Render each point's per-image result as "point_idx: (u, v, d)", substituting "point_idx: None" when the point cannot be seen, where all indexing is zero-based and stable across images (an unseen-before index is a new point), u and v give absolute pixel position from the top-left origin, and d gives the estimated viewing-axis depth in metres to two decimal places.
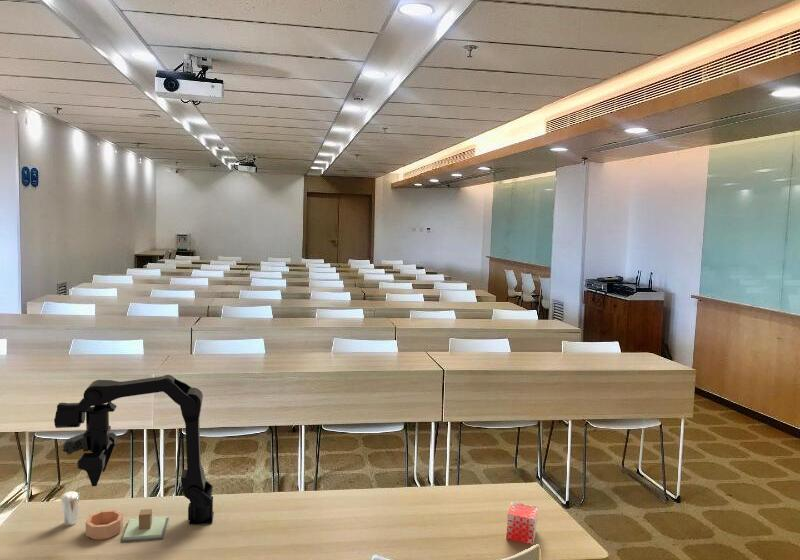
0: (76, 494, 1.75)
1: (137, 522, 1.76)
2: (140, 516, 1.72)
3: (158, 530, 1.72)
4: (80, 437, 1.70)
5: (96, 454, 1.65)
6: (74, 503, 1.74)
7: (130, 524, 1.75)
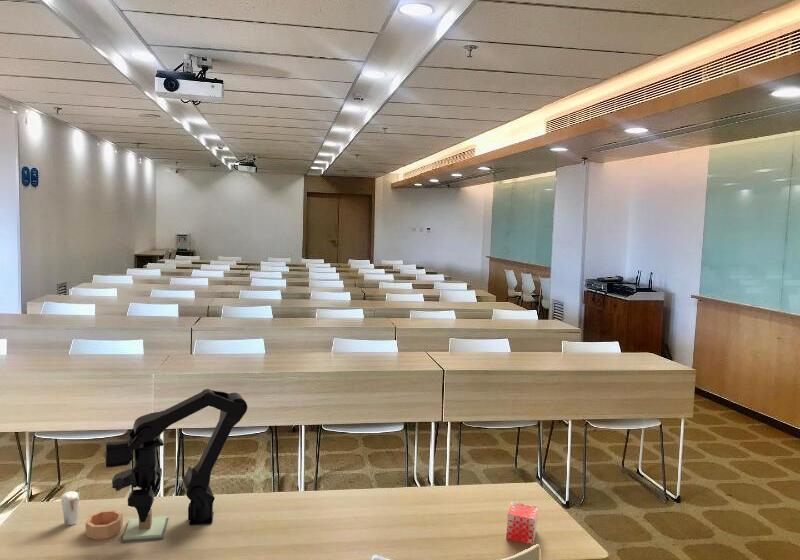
0: (76, 494, 1.75)
1: (137, 522, 1.76)
2: None
3: (158, 530, 1.72)
4: (128, 473, 1.70)
5: (145, 491, 1.66)
6: (74, 503, 1.74)
7: (130, 524, 1.75)
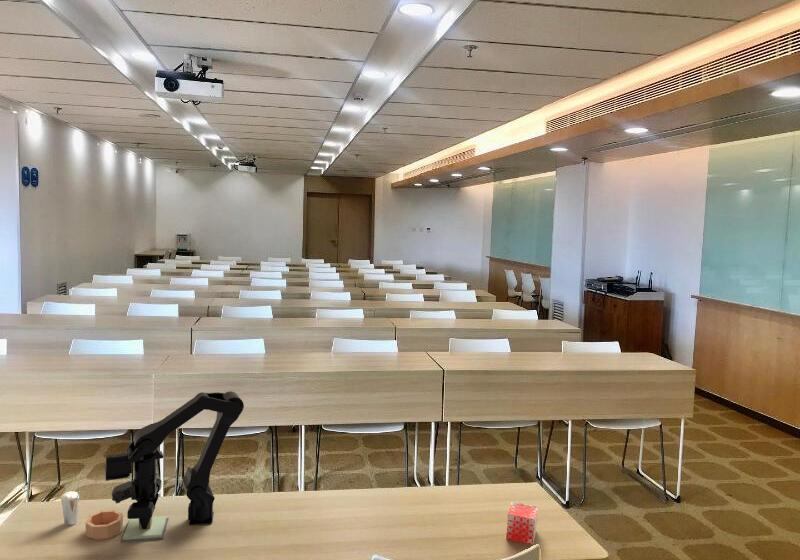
0: (76, 494, 1.75)
1: (137, 522, 1.76)
2: None
3: (158, 530, 1.72)
4: (128, 485, 1.71)
5: (145, 503, 1.66)
6: (74, 503, 1.74)
7: (130, 524, 1.75)
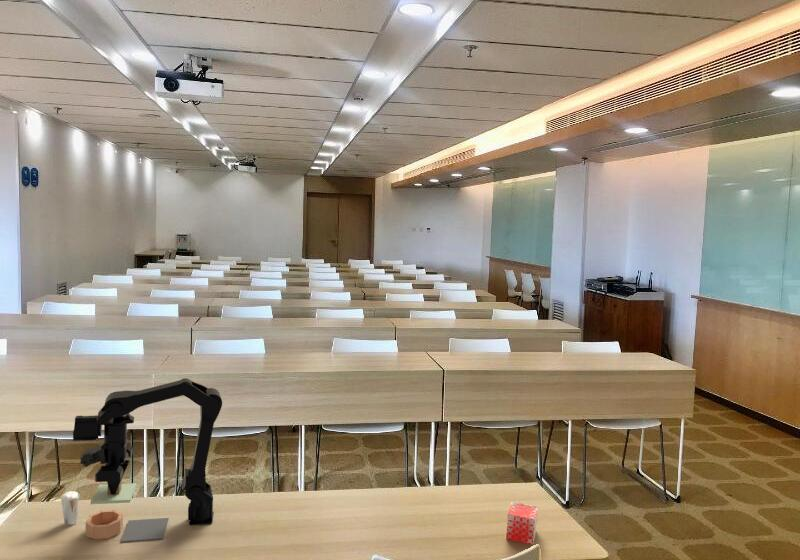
0: (76, 494, 1.75)
1: (106, 488, 1.73)
2: None
3: (127, 496, 1.69)
4: (97, 449, 1.68)
5: (114, 467, 1.64)
6: (74, 503, 1.74)
7: (99, 489, 1.72)
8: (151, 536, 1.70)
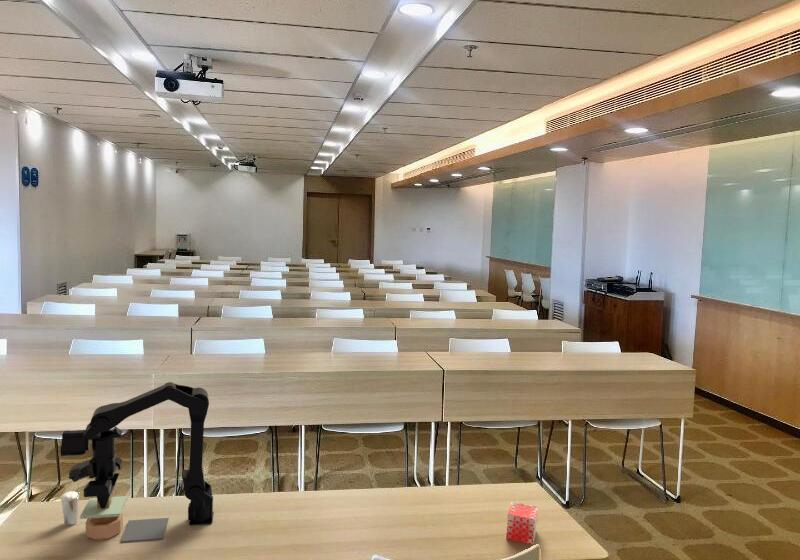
0: (76, 494, 1.75)
1: (96, 502, 1.73)
2: None
3: (116, 509, 1.70)
4: (86, 464, 1.68)
5: (102, 482, 1.64)
6: (74, 503, 1.74)
7: (89, 503, 1.72)
8: (151, 536, 1.70)
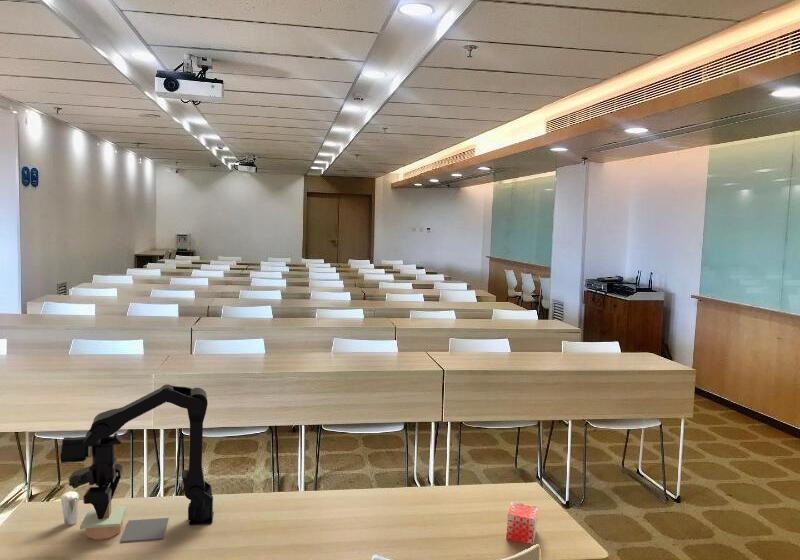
0: (76, 494, 1.75)
1: None
2: None
3: (116, 519, 1.70)
4: (86, 470, 1.68)
5: (102, 488, 1.64)
6: (74, 503, 1.74)
7: (89, 513, 1.72)
8: (151, 536, 1.70)
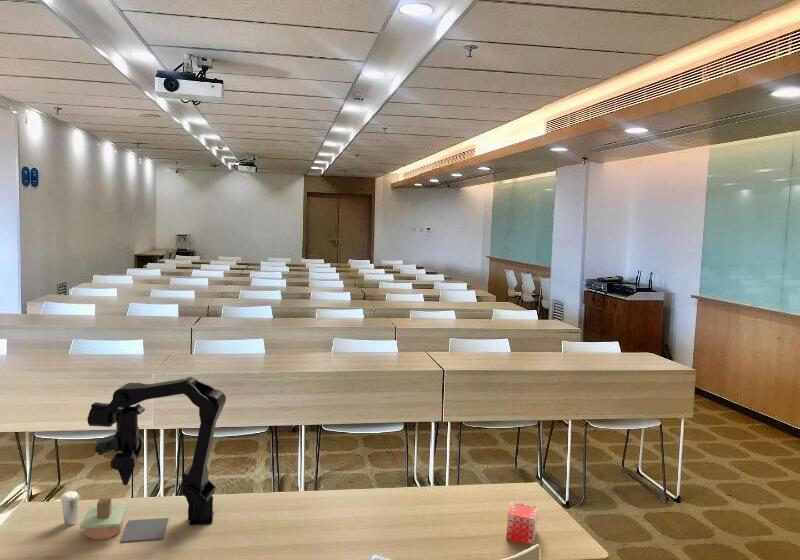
0: (76, 494, 1.75)
1: (96, 511, 1.74)
2: (98, 505, 1.70)
3: (116, 519, 1.70)
4: (110, 438, 1.77)
5: (128, 454, 1.73)
6: (74, 503, 1.74)
7: (89, 513, 1.72)
8: (151, 536, 1.70)
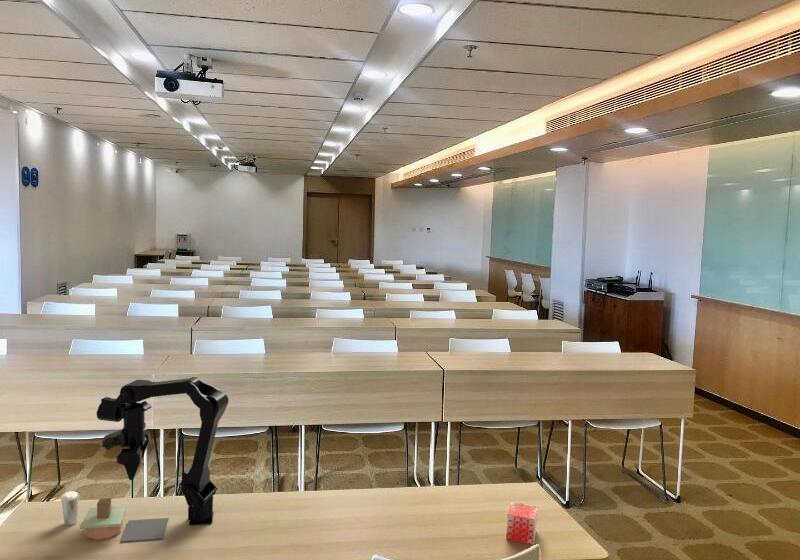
0: (76, 494, 1.75)
1: (96, 511, 1.74)
2: (98, 505, 1.70)
3: (116, 519, 1.70)
4: (118, 433, 1.80)
5: (134, 449, 1.75)
6: (74, 503, 1.74)
7: (89, 513, 1.72)
8: (151, 536, 1.70)
